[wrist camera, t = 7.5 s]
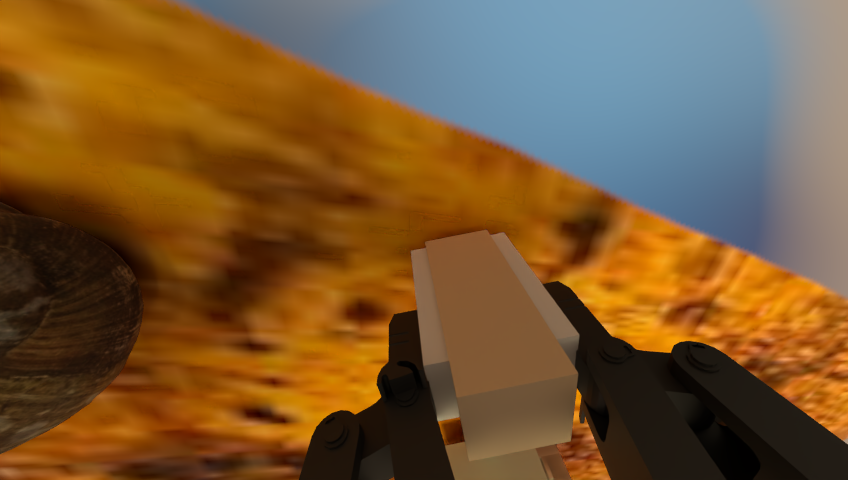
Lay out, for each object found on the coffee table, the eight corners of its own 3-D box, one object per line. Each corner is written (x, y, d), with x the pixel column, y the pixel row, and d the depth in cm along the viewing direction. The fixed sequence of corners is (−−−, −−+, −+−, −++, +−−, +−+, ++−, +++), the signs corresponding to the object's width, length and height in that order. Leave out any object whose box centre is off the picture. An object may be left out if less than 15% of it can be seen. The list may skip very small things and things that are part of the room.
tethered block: (393, 247, 14) (395, 409, 7) (517, 223, 14) (639, 361, 7) (451, 472, 25) (475, 630, 18) (523, 458, 25) (576, 610, 18)
